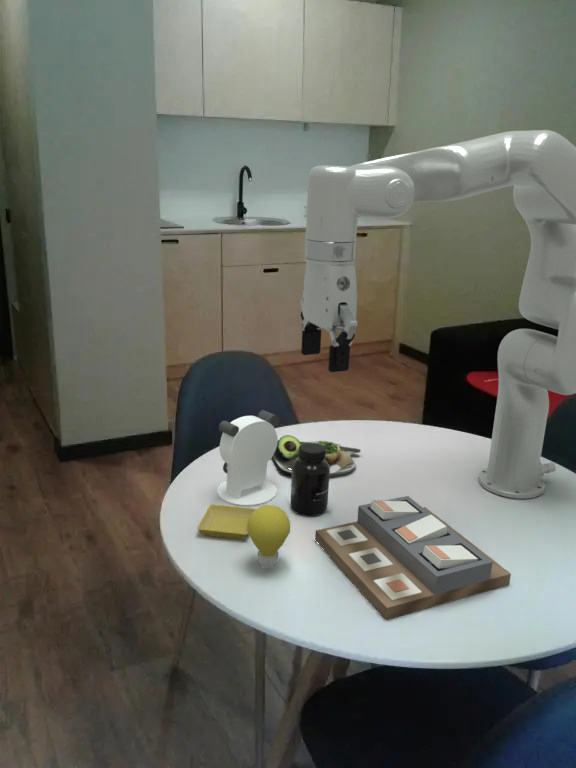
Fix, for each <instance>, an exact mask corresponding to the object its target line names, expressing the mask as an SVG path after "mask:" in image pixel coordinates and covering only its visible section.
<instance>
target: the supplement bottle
mask: <svg viewBox="0 0 576 768" xmlns="http://www.w3.org/2000/svg"><path fill="white" fill-rule="evenodd" d="M325 451H326V449H325V447H324V446H323V445H320V444H317V443H305V444H302V445H300V446H299V453H298V459H296V460H295V461H294V463H293V465H292V478H291V484H290V505H289V506H290V509H291V510H292V511H293V512H295V513H296V514H298V515H301V516H304V515H305V517H316V515H317V516H319V515H322V514H324V513H325V512H326V511H327V509H328V503H329V488H330V487H329V486H330V477H329V476H330V473H331V465H329V464H328V462H327V461H326V460H325V457H326V455H325Z"/></svg>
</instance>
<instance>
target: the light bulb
mask: <svg viewBox="0 0 576 768" xmlns="http://www.w3.org/2000/svg"><path fill="white" fill-rule="evenodd" d="M255 509H256V510H255V511H254V512H253V513H252V514H251V516H250V517H249V519H248V524H247V532H248V534H247V535H248V536H249V537H250V539H251V541H252V543H253V545H254V546H255V547H256V549H257V550H258V551H257V560H258V561H259V563H260V567H261V568H262V569H264V570H265V569H266V570H270V569H271V570H272V569H273V568H275V567H276V563H277V562H278V561H279V550H280V548H282V546H283V544H284V543H285V541H286V540H287V538H288V537H289V535H290V534H291V521H290V517H289V516H288V515H287V513H286V512H285V510H283V509H282V508H281V507H280V506H279V507H278V506H276V505H271V504H265V505H264V504H263V505H260V506H259V507H257V508H255Z"/></svg>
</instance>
